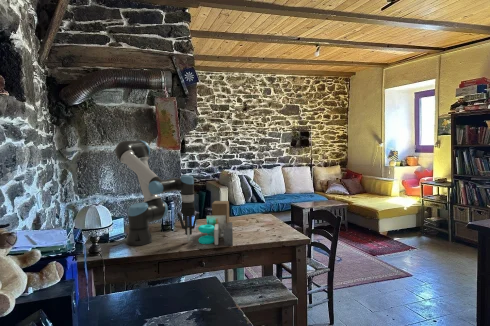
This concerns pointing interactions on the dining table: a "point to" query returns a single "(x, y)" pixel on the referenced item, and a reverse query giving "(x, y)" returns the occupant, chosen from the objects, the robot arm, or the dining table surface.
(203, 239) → the donuts
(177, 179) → the robot arm
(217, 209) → the wooden block
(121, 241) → the dining table surface
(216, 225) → the gauge plate
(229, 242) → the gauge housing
